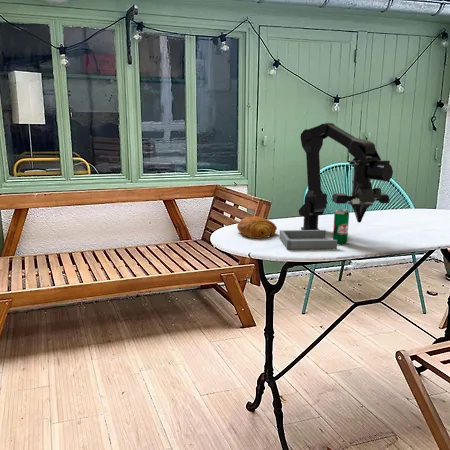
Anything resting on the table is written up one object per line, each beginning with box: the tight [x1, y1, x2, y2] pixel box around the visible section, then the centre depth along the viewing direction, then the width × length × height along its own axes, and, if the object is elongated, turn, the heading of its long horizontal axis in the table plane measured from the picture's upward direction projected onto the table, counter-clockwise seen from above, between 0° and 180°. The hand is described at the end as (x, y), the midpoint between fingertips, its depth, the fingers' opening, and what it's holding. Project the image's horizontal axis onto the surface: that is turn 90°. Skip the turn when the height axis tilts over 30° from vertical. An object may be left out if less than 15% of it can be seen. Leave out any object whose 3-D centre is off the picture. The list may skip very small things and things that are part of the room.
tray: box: [278, 229, 338, 251], centre depth 163 cm, size 16×17×3 cm
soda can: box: [332, 208, 350, 245], centre depth 163 cm, size 5×5×12 cm
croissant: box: [236, 215, 278, 239], centre depth 177 cm, size 14×16×8 cm
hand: (359, 222), depth 163 cm, fingers closed
